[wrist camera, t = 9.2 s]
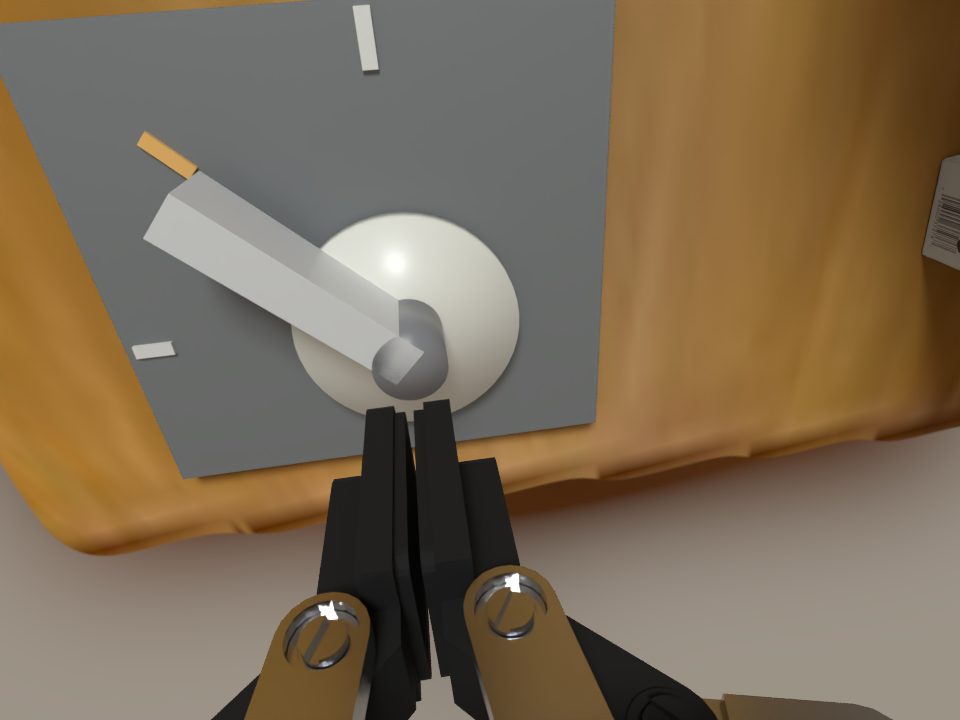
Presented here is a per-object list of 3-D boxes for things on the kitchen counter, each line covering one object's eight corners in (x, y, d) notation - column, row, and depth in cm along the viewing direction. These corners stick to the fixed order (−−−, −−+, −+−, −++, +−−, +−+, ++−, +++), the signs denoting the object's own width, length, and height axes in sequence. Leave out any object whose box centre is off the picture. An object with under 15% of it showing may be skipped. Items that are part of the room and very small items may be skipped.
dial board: (605, -20, 26) (618, -23, 24) (588, 409, 38) (596, 424, 36) (0, 25, 24) (-26, 25, 22) (190, 462, 36) (182, 481, 34)
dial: (558, 297, 32) (585, 341, 27) (429, 440, 35) (435, 499, 31) (261, 71, 24) (231, 81, 20) (139, 281, 28) (91, 329, 24)
